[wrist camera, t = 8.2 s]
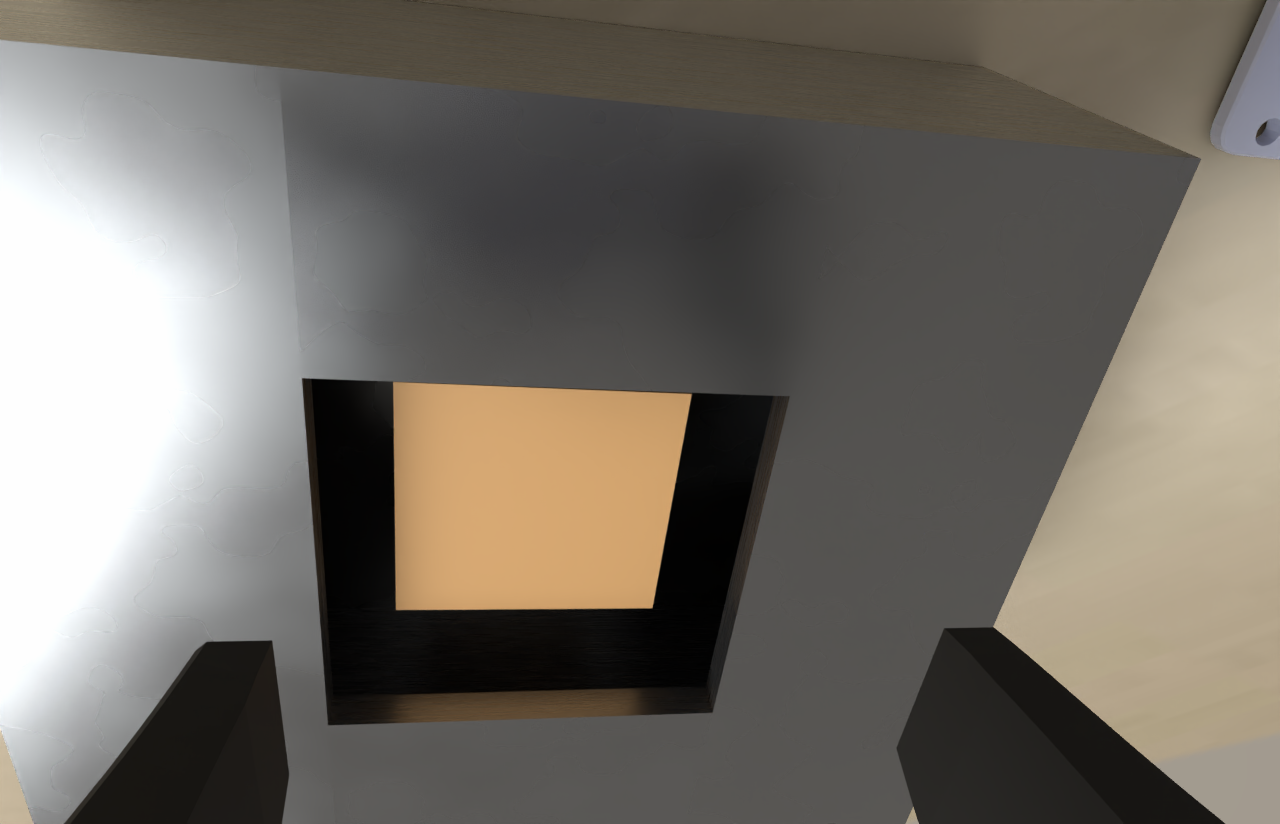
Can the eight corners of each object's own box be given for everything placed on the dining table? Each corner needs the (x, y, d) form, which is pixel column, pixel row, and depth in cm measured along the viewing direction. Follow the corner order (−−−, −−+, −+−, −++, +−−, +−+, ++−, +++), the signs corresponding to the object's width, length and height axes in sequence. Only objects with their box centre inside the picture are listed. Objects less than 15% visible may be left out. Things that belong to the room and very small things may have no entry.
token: (651, 289, 17) (691, 394, 14) (623, 479, 20) (652, 607, 16) (412, 274, 16) (393, 381, 13) (411, 475, 19) (395, 610, 15)
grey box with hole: (983, 67, 17) (1201, 158, 12) (814, 621, 24) (903, 828, 19) (23, -45, 14) (-251, 14, 9) (158, 630, 21) (53, 879, 16)
